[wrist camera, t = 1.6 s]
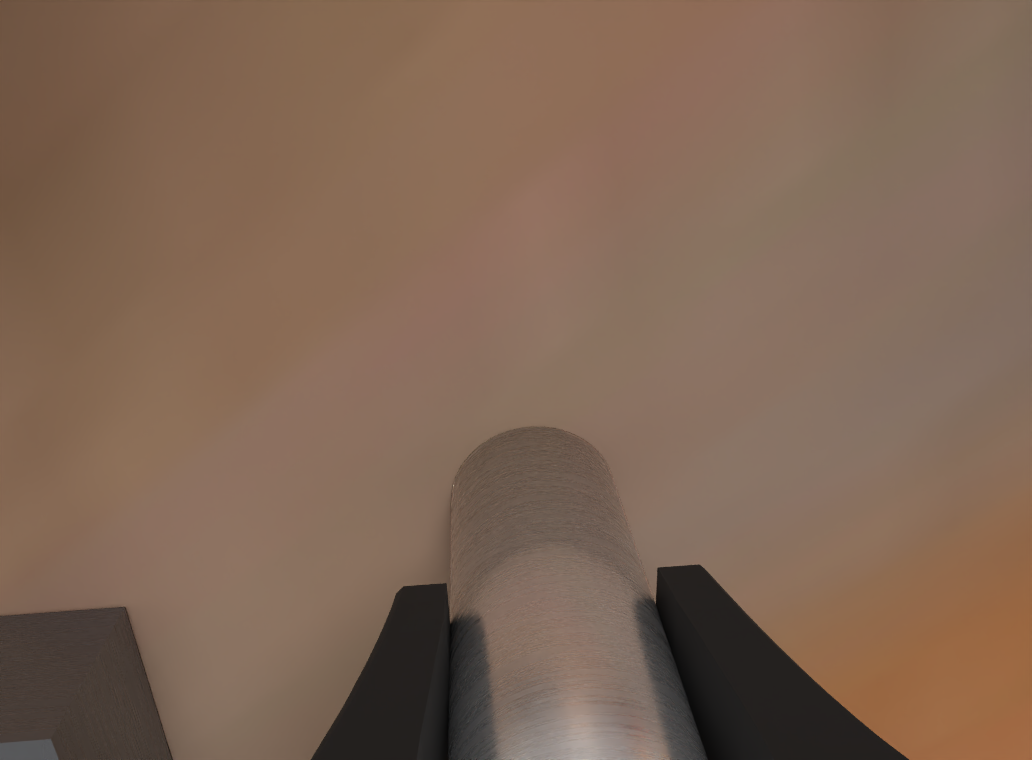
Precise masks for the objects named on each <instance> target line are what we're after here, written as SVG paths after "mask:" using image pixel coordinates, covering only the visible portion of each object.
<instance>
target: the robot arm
mask: <svg viewBox="0 0 1032 760" xmlns="http://www.w3.org/2000/svg"><path fill="white" fill-rule="evenodd" d="M656 607H657V610H658V613H659V616H660V619H661V622H662V625H663V628H664V631H665V634H666V637H667V640H668V643H669V646H670V649H671V652H672V655H673V658H674V661H675V664H676V667H677V670H678V673H679V676H680V679H681V682H682V685H683V688H684V691H685V694H686V697H687V700H688V703H689V705H690V708H691V711H692V714H693V717H694V720H695V723H696V726H697V729H698V732H699V735H700V738H701V741H702V744H703V747H704V750H705V753H706V756H707V759H708V760H909V759H908V758H906V757H905V756H904V755H902V754H901V753H900V752H898V751H897V750H896V749H894V748H893V747H892V746H890V745H889V744H888V743H886V742H885V741H884V740H882V739H881V738H880V737H879V736H877V735H876V734H875V733H874V732H873V731H871V730H870V729H869V728H868V727H867V726H865V725H864V724H863V723H862V722H861V721H859V720H858V719H857V718H856V717H855V716H854V715H852V714H851V713H850V712H849V711H848V710H847V709H846V708H844V707H843V706H842V705H841V704H840V703H839V702H838V701H836V700H835V699H834V698H833V697H832V696H831V695H830V694H828V693H827V692H826V691H825V690H824V689H823V688H822V687H821V686H820V685H819V684H817V683H816V682H815V681H814V680H813V679H812V678H811V677H810V676H809V675H808V674H807V673H806V672H805V671H804V670H802V669H801V668H800V667H799V666H798V665H797V664H796V663H795V662H794V661H793V660H792V659H791V658H790V657H789V656H788V655H787V654H786V653H785V652H784V651H783V650H782V649H781V648H780V647H779V646H778V645H777V644H776V643H775V642H774V641H773V640H772V639H771V638H770V637H769V636H768V635H767V634H766V633H765V632H764V631H763V630H762V629H761V628H760V627H759V626H758V625H757V624H756V623H755V622H754V621H753V620H752V619H751V618H750V617H749V616H748V615H747V614H746V613H745V612H744V611H743V610H742V608H741V607H740V606H739V605H738V604H737V603H736V602H735V601H734V600H733V599H732V598H731V597H730V596H729V595H728V593H727V592H726V591H725V590H724V589H723V588H722V587H721V586H720V585H719V584H718V583H717V582H716V580H715V579H714V578H713V577H712V576H711V575H710V574H709V573H708V572H707V571H706V570H705V569H704V568H703V567H702V566H701V565H687V566H673V567H660V568H658V570H657V592H656ZM449 682H450V616H449V605H448V595H447V584H446V583H444V584H430V585H417V586H404V587H403V588H402V589H400V590H399V591H398V592H397V593H396V596H395V599H394V602H393V605H392V607H391V610H390V612H389V615H388V618H387V620H386V622H385V625H384V627H383V629H382V632H381V634H380V636H379V638H378V640H377V642H376V644H375V647H374V649H373V651H372V653H371V655H370V657H369V659H368V661H367V663H366V665H365V667H364V669H363V671H362V672H361V674H360V676H359V678H358V680H357V682H356V684H355V686H354V687H353V689H352V691H351V693H350V695H349V697H348V699H347V701H346V702H345V704H344V706H343V708H342V709H341V711H340V713H339V714H338V716H337V718H336V719H335V721H334V723H333V724H332V726H331V728H330V729H329V731H328V732H327V734H326V736H325V737H324V739H323V741H322V742H321V744H320V746H319V747H318V749H317V750H316V752H315V754H314V755H313V757H312V759H311V760H448V725H449Z"/></svg>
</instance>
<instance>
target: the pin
mask: <svg viewBox="0 0 1032 760" xmlns="http://www.w3.org/2000/svg"><path fill="white" fill-rule="evenodd" d="M448 760H708V759H707V756H706V753H705V750H704V747H703V744H702V741H701V738H700V735H699V732H698V729H697V726H696V723H695V720H694V717H693V714H692V711H691V708H690V705H689V703H688V700H687V697H686V694H685V691H684V688H683V685H682V682H681V679H680V676H679V673H678V670H677V667H676V664H675V661H674V658H673V655H672V652H671V649H670V646H669V643H668V640H667V637H666V634H665V631H664V628H663V625H662V622H661V619H660V616H659V613H658V610H657V607H656V604H655V601H654V598H653V595H652V592H651V589H650V586H649V583H648V580H647V578H646V575H645V572H644V569H643V566H642V563H641V560H640V557H639V554H638V551H637V548H636V545H635V542H634V539H633V536H632V533H631V530H630V527H629V524H628V521H627V518H626V515H625V512H624V509H623V506H622V503H621V500H620V497H619V494H618V491H617V488H616V485H615V482H614V479H613V476H612V474H611V471H610V469H609V466H608V465H607V463H606V461H605V459H604V458H603V457H602V455H601V454H600V453H599V452H598V451H597V450H596V449H595V448H594V447H593V446H592V445H591V444H589V443H588V442H587V441H585V440H584V439H582V438H580V437H578V436H576V435H574V434H572V433H569V432H567V431H564V430H560V429H556V428H549V427H525V428H518V429H514V430H510V431H507V432H504V433H502V434H499V435H497V436H495V437H493V438H491V439H489V440H488V441H486V442H485V443H483V444H482V445H480V446H479V447H478V448H477V449H476V450H474V451H473V452H472V453H471V454H470V455H469V457H468V458H467V459H466V460H465V461H464V463H463V464H462V466H461V467H460V469H459V471H458V473H457V475H456V477H455V481H454V484H453V488H452V494H451V562H450V682H449V725H448Z"/></svg>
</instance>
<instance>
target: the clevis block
mask: <svg viewBox="0 0 1032 760" xmlns="http://www.w3.org/2000/svg"><path fill="white" fill-rule="evenodd" d="M0 760H172V758H171V755H170V751H169V748H168V745H167V742H166V739H165V735H164V732H163V729H162V726H161V722H160V719H159V716H158V713H157V710H156V706H155V703H154V700H153V697H152V693H151V690H150V687H149V684H148V681H147V677H146V674H145V671H144V668H143V664H142V661H141V658H140V655H139V652H138V648H137V645H136V642H135V639H134V635H133V632H132V629H131V626H130V623H129V619H128V616H127V613H126V610H125V607H118V608H104V609H91V610H78V611H64V612H51V613H37V614H24V615H10V616H0Z"/></svg>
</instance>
